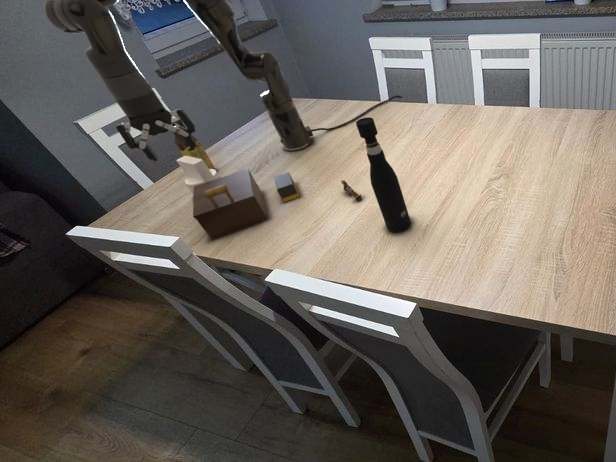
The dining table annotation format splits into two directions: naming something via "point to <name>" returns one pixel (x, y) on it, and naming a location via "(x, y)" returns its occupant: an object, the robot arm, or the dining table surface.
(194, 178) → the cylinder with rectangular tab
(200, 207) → the case lid
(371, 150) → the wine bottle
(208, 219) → the case
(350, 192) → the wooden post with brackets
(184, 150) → the sauce bottle
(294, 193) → the duster
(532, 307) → the dining table surface
